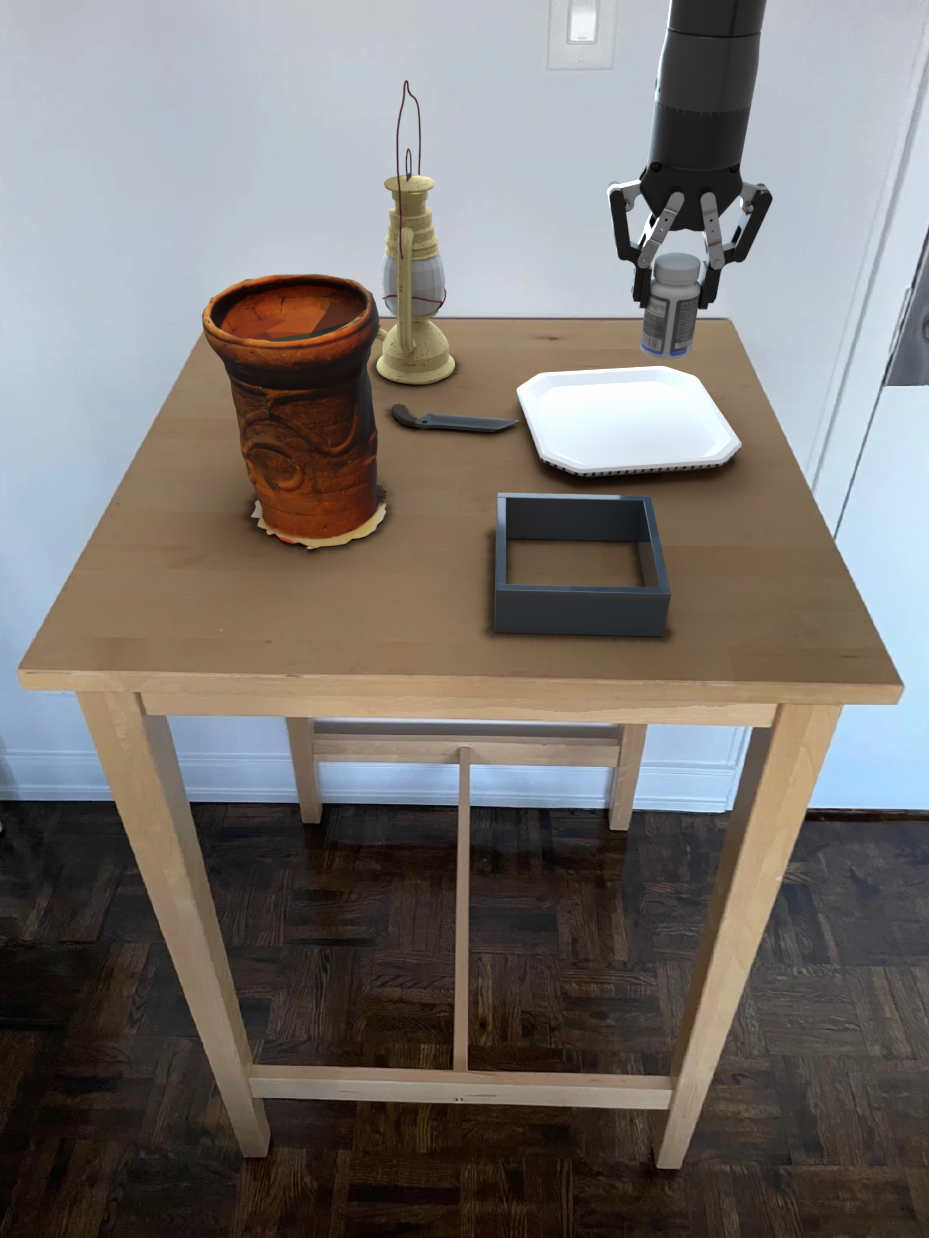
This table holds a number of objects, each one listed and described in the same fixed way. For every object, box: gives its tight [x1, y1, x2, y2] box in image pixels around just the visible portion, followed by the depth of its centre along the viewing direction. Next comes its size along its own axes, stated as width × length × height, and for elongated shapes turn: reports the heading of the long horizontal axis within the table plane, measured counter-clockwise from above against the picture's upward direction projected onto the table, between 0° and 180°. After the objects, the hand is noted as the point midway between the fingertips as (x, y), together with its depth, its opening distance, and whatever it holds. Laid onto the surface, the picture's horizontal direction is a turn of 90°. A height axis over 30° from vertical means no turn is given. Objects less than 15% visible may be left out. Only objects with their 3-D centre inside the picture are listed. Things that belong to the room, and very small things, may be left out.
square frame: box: [493, 492, 672, 638], centre depth 80 cm, size 14×14×4 cm
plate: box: [516, 365, 742, 478], centre depth 99 cm, size 21×21×2 cm
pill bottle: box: [640, 252, 702, 361], centre depth 85 cm, size 5×5×8 cm
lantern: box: [375, 79, 456, 385], centre depth 101 cm, size 12×10×30 cm
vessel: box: [201, 273, 388, 550], centre depth 83 cm, size 14×14×20 cm
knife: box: [390, 403, 520, 433], centre depth 101 cm, size 14×4×1 cm, turn 81°
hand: (671, 305), depth 85 cm, fingers closed on pill bottle, 4 cm apart
